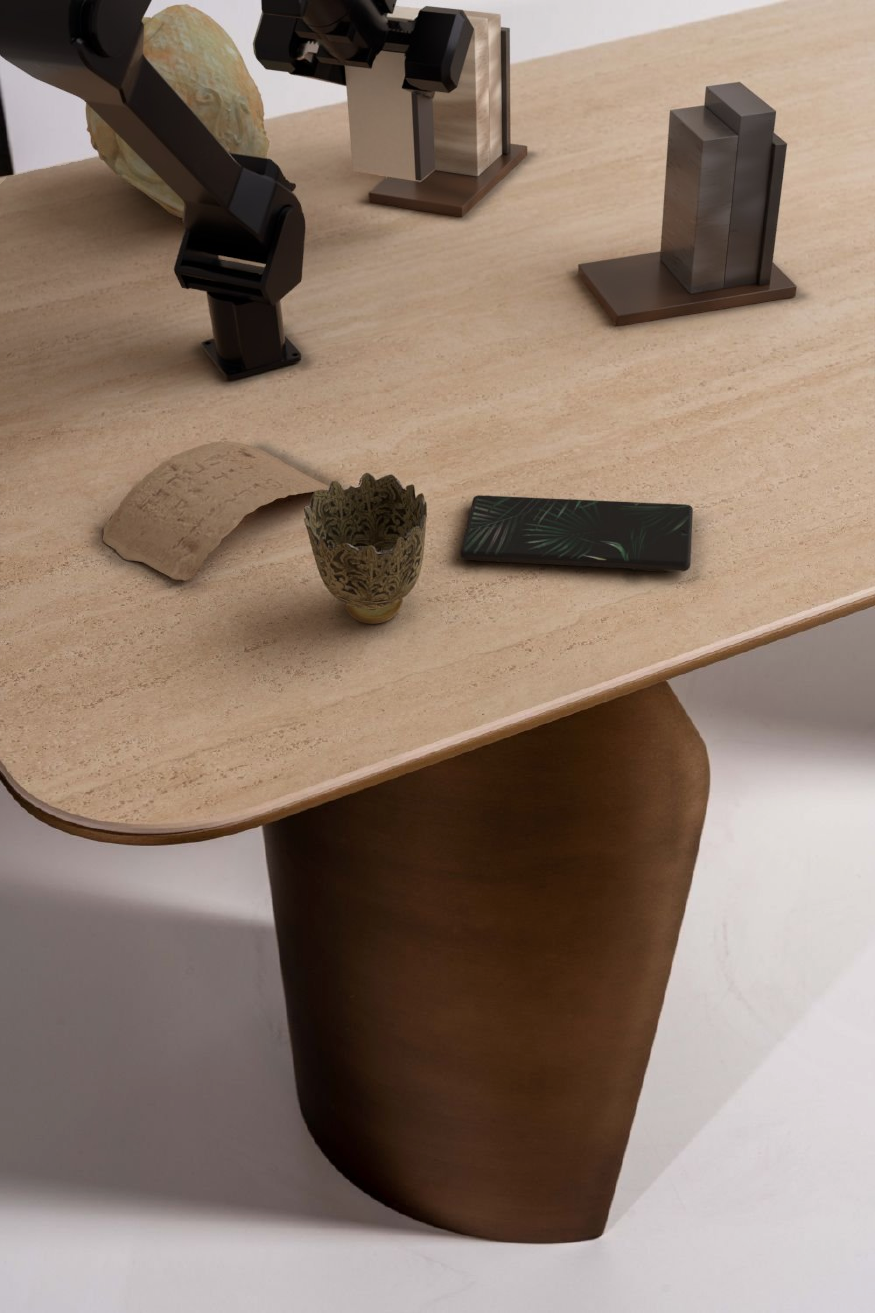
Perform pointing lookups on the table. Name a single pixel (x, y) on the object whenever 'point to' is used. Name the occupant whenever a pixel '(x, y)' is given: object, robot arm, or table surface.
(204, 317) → the table surface
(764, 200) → the grey book shelf
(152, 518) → the clay tablet
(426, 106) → the white book
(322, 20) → the robot arm
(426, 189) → the white book shelf
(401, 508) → the cup
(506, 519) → the smartphone
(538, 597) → the table surface
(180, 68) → the sculpture
